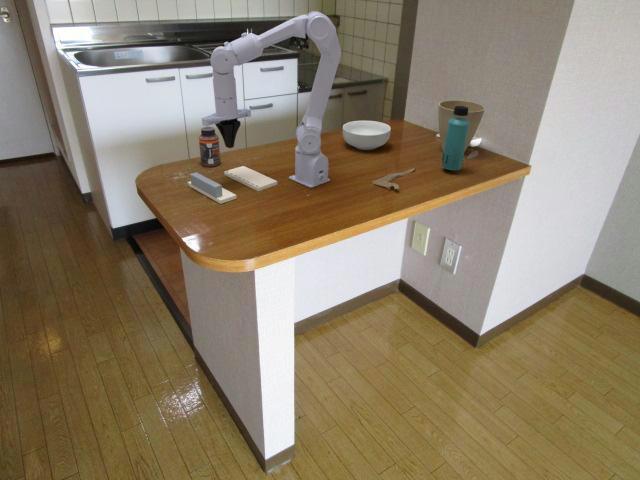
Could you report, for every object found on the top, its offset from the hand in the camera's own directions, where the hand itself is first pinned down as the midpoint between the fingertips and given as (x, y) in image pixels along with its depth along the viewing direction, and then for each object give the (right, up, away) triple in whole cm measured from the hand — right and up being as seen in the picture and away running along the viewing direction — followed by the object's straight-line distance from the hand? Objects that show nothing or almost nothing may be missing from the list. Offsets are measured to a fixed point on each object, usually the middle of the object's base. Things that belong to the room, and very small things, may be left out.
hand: (229, 147), depth 126 cm
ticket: (+5, -8, +7) cm, 12 cm away
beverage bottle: (+66, -4, +17) cm, 68 cm away
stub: (-5, -13, -1) cm, 13 cm away
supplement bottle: (-9, -2, +17) cm, 19 cm away
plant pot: (+71, +5, +33) cm, 79 cm away
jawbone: (+50, -9, +9) cm, 51 cm away
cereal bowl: (+41, +7, +35) cm, 55 cm away
